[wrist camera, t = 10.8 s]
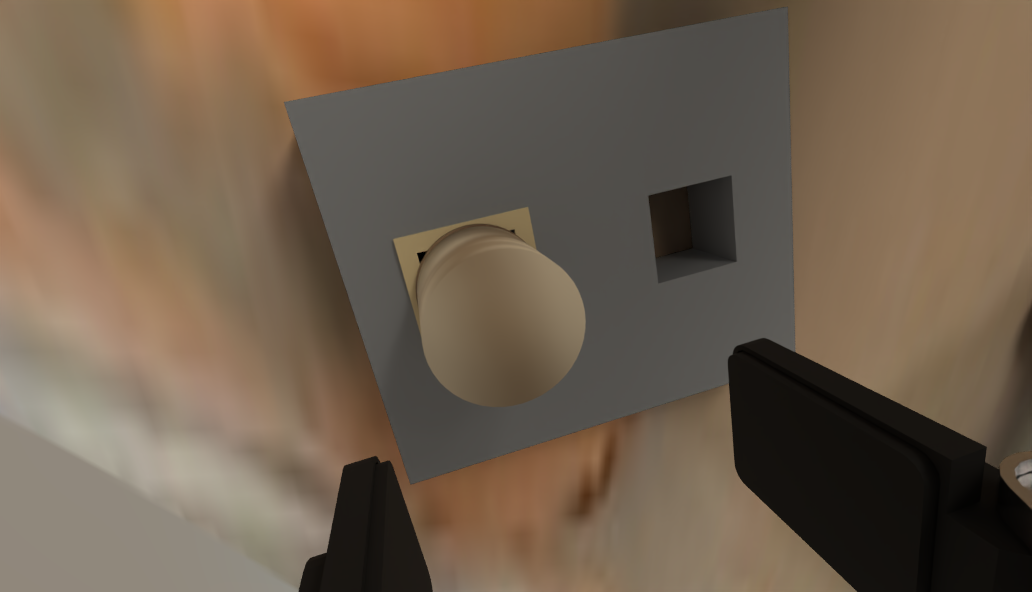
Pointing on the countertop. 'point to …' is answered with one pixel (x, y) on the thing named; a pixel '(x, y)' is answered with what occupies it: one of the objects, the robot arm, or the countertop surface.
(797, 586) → the countertop surface
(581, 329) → the peg
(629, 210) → the seat block
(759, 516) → the countertop surface
